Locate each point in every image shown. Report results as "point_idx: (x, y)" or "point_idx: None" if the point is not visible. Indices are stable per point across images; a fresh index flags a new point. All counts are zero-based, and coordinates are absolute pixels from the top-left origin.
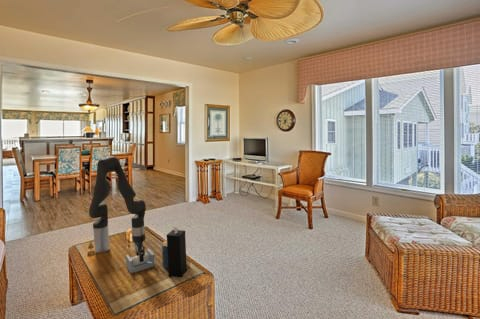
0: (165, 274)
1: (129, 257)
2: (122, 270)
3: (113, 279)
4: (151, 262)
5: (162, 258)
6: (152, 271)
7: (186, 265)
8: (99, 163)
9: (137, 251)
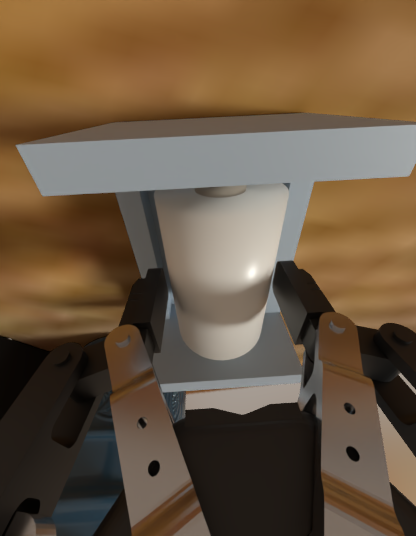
0: (27, 326)
1: (240, 178)
2: (251, 28)
3: None
4: None
5: None
6: (89, 284)
7: None
8: None
9: (309, 328)
